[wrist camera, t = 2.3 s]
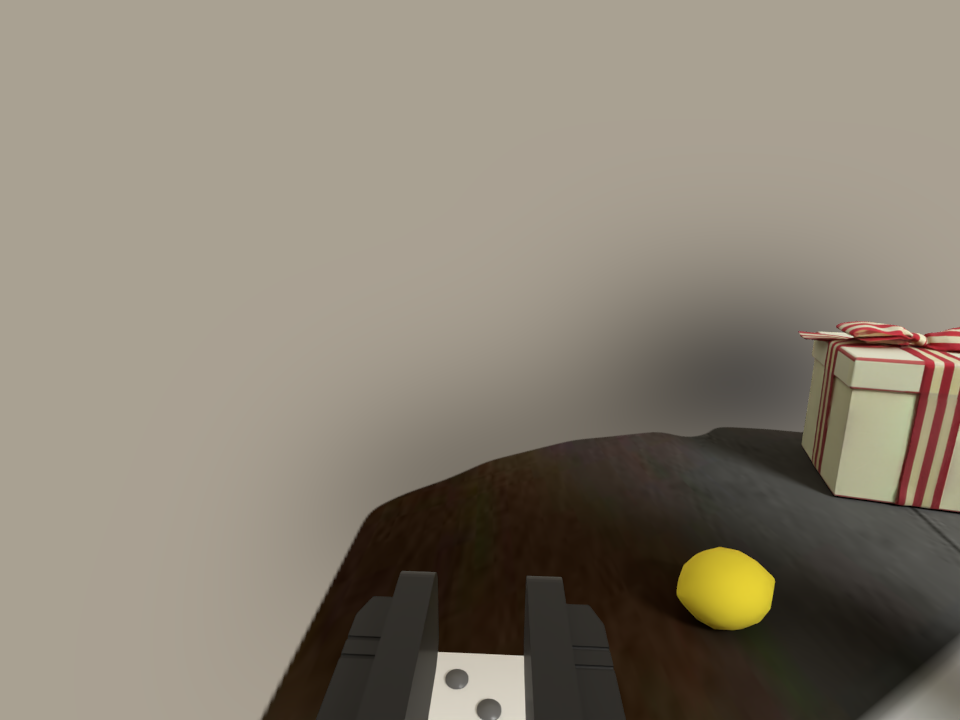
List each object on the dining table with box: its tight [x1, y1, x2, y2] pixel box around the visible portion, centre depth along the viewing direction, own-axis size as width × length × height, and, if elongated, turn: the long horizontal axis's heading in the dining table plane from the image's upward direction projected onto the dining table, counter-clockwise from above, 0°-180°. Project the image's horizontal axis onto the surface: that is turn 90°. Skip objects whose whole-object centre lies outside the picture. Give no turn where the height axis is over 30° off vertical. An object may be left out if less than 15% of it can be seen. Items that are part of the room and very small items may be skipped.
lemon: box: [677, 547, 775, 630], centre depth 38 cm, size 7×5×5 cm
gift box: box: [798, 322, 960, 512], centre depth 60 cm, size 17×18×17 cm
